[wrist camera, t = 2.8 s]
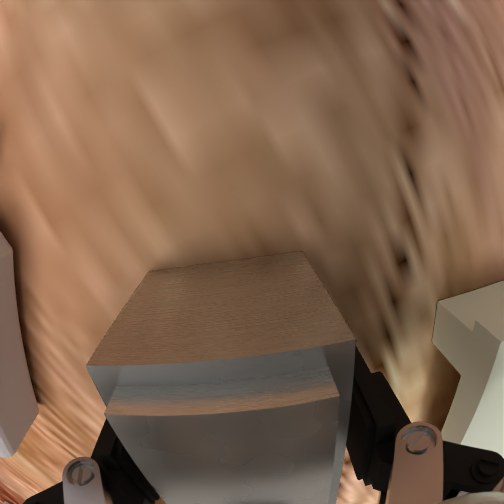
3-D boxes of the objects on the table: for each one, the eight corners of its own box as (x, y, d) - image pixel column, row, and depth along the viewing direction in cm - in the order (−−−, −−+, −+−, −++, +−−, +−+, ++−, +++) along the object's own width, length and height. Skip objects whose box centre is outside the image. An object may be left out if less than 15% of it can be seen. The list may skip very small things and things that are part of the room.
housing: (149, 270, 10) (57, 414, 4) (301, 250, 10) (385, 390, 4) (204, 443, 13) (196, 563, 6) (309, 431, 13) (337, 551, 6)
